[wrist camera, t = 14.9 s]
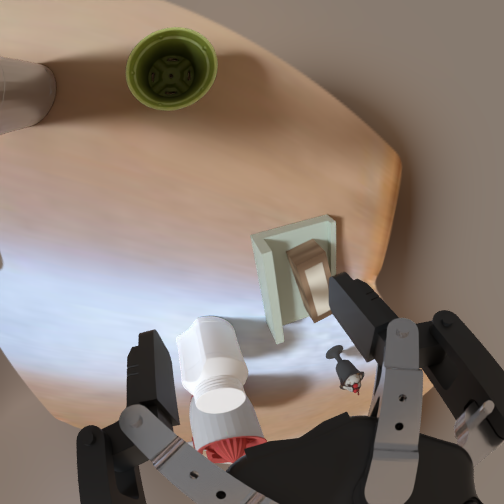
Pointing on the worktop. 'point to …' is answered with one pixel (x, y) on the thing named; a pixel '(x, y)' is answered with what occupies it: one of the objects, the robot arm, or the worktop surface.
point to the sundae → (346, 371)
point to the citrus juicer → (225, 432)
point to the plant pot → (171, 68)
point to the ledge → (288, 268)
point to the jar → (212, 365)
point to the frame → (311, 277)
